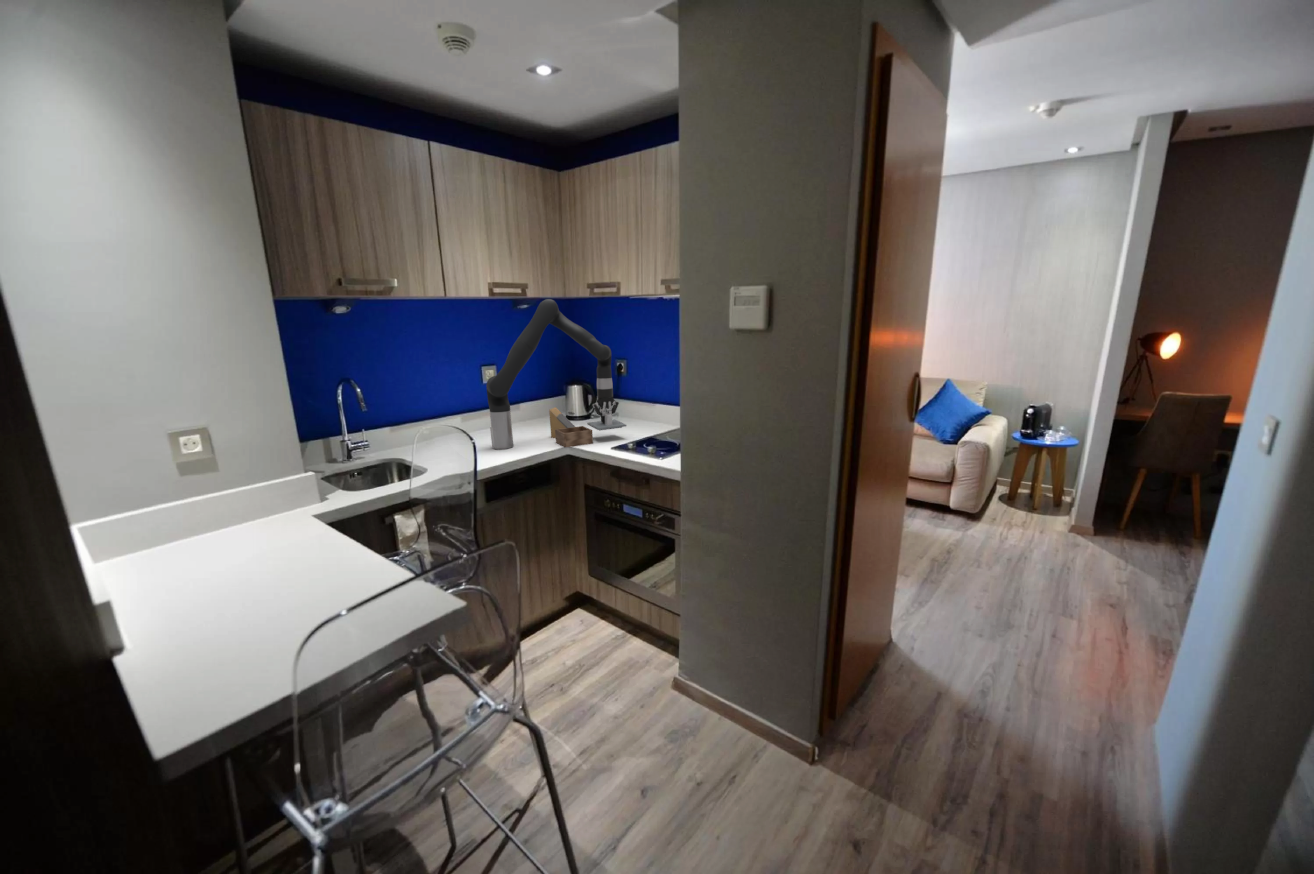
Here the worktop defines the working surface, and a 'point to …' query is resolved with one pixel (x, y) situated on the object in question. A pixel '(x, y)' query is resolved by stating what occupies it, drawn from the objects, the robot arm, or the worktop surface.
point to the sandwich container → (558, 421)
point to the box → (574, 436)
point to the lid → (607, 423)
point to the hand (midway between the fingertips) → (606, 422)
